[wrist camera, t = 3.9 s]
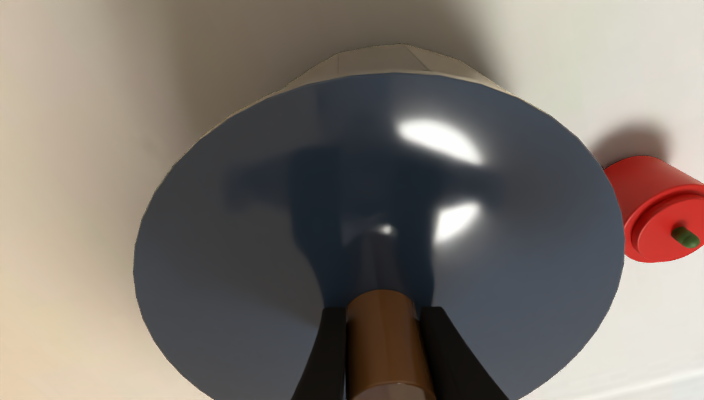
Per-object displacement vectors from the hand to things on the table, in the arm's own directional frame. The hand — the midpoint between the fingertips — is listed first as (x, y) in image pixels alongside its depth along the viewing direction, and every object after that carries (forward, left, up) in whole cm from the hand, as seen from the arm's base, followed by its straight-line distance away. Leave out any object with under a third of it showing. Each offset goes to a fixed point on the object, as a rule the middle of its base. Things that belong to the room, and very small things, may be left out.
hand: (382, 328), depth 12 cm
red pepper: (+8, -13, -10) cm, 19 cm away
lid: (0, 0, -1) cm, 1 cm away
